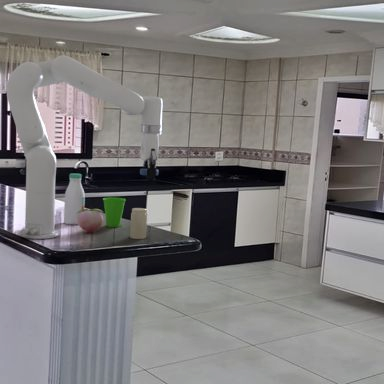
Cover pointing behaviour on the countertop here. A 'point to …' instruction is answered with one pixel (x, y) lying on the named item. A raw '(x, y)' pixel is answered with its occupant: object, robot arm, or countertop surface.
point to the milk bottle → (74, 199)
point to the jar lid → (144, 171)
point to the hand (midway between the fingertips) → (149, 177)
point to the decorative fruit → (90, 219)
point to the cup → (113, 211)
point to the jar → (138, 223)
